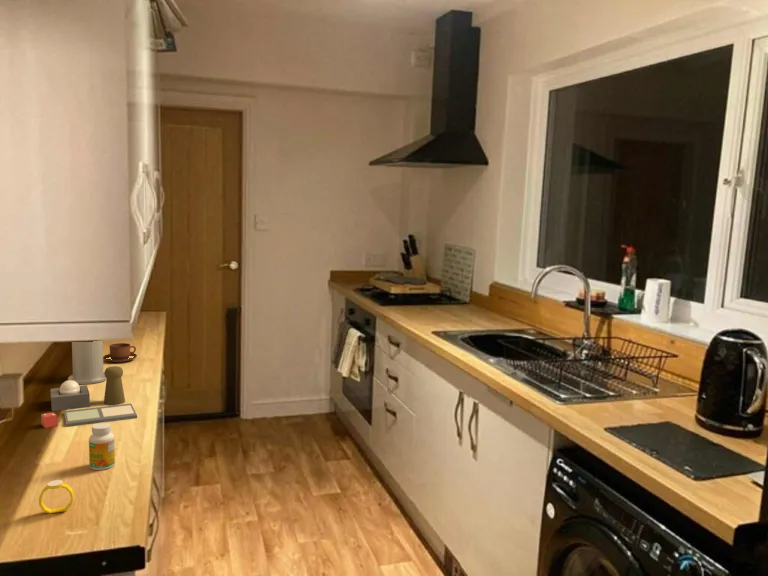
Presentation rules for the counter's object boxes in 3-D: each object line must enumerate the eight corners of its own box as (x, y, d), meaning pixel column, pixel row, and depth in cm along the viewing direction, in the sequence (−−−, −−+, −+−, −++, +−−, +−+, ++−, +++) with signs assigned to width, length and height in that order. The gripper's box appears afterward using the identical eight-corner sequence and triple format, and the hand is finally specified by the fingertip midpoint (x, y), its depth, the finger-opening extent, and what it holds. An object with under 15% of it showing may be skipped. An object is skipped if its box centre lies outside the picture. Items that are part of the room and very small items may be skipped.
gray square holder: (50, 401, 194) (50, 388, 193) (87, 397, 199) (86, 385, 198) (51, 411, 185) (51, 397, 185) (89, 406, 190) (89, 393, 189)
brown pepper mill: (117, 406, 191) (116, 370, 190) (99, 404, 193) (98, 368, 191) (129, 400, 197) (128, 365, 196) (111, 398, 198) (110, 363, 197)
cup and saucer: (121, 355, 254) (121, 340, 254) (143, 359, 249) (143, 344, 249) (96, 362, 244) (95, 346, 243) (118, 366, 239) (118, 350, 238)
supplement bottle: (84, 469, 146) (83, 428, 144) (98, 460, 151) (97, 420, 150) (106, 471, 145) (105, 430, 143) (119, 462, 150) (118, 422, 149)
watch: (75, 506, 128) (74, 478, 127) (73, 512, 125) (72, 483, 125) (41, 510, 126) (40, 481, 125) (38, 516, 123) (37, 487, 123)
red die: (41, 425, 173) (41, 414, 173) (53, 422, 175) (53, 411, 175) (45, 428, 171) (44, 416, 171) (57, 425, 173) (56, 414, 173)
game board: (64, 413, 183) (64, 410, 183) (131, 406, 192) (131, 403, 192) (66, 426, 173) (66, 423, 172) (137, 417, 181) (137, 414, 181)
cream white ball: (59, 396, 193) (58, 379, 192) (79, 394, 195) (78, 377, 195) (60, 401, 188) (59, 383, 187) (80, 399, 191) (80, 381, 190)
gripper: (51, 275, 193) (53, 331, 195) (54, 280, 178) (55, 341, 180) (79, 275, 197) (80, 329, 198) (83, 280, 182) (85, 339, 183)
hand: (68, 335), depth 189 cm, fingers open, 9 cm apart
